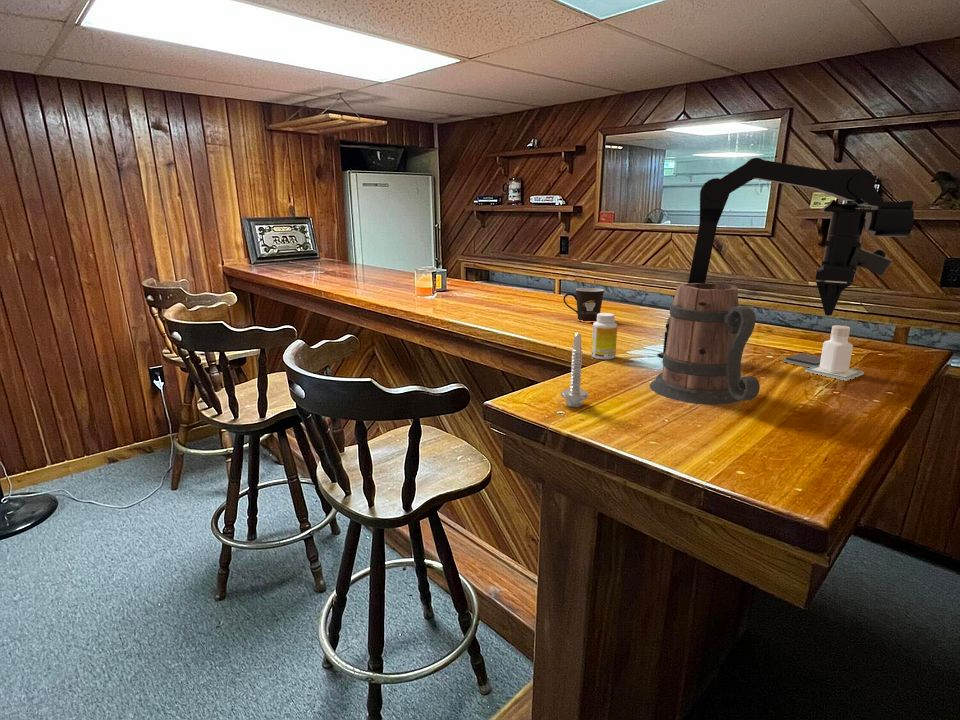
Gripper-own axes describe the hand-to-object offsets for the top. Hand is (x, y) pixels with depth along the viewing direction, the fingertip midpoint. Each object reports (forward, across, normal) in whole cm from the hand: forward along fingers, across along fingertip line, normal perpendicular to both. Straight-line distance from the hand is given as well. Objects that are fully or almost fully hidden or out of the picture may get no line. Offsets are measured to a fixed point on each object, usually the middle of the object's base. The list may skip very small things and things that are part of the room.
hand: (829, 312), depth 111 cm
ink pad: (+13, +5, +2) cm, 14 cm away
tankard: (+13, -32, +16) cm, 38 cm away
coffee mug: (+14, +22, +66) cm, 70 cm away
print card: (+13, -1, -3) cm, 13 cm away
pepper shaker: (+12, -1, -3) cm, 13 cm away
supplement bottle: (+14, -17, +42) cm, 47 cm away
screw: (+14, -51, +33) cm, 62 cm away
